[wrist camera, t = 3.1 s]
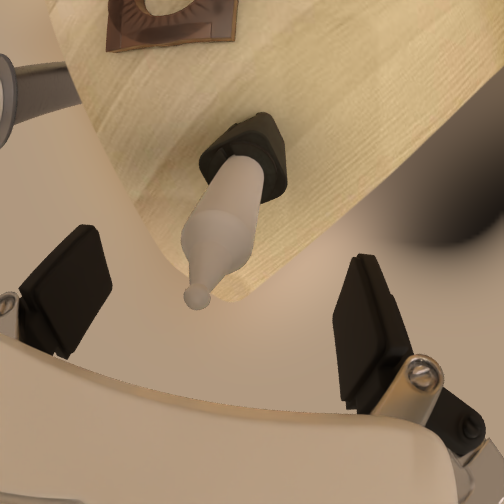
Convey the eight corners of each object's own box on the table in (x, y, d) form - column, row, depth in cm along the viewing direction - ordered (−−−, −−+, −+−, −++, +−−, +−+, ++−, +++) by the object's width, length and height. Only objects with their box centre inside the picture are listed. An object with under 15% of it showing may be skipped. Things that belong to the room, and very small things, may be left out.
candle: (246, 167, 31) (178, 364, 10) (225, 128, 29) (89, 267, 8) (288, 149, 29) (304, 338, 9) (268, 108, 27) (225, 200, 6)
